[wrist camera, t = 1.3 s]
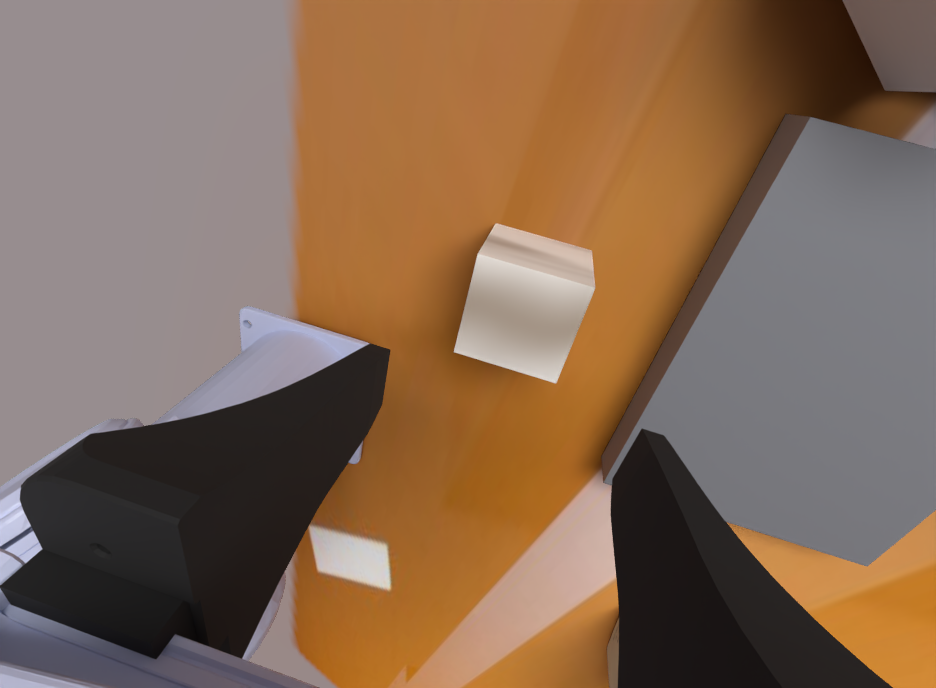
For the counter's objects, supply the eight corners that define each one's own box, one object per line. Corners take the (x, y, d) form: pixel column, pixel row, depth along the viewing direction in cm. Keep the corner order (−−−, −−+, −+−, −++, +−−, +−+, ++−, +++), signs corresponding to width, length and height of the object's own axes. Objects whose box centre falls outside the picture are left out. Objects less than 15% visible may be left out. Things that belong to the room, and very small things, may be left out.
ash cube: (559, 333, 23) (556, 383, 19) (474, 307, 23) (453, 352, 19) (591, 250, 20) (595, 287, 16) (496, 222, 20) (477, 253, 17)
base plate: (847, 533, 25) (867, 566, 23) (601, 456, 26) (603, 482, 24) (1192, 218, 15) (1269, 235, 14) (785, 113, 16) (810, 116, 15)
